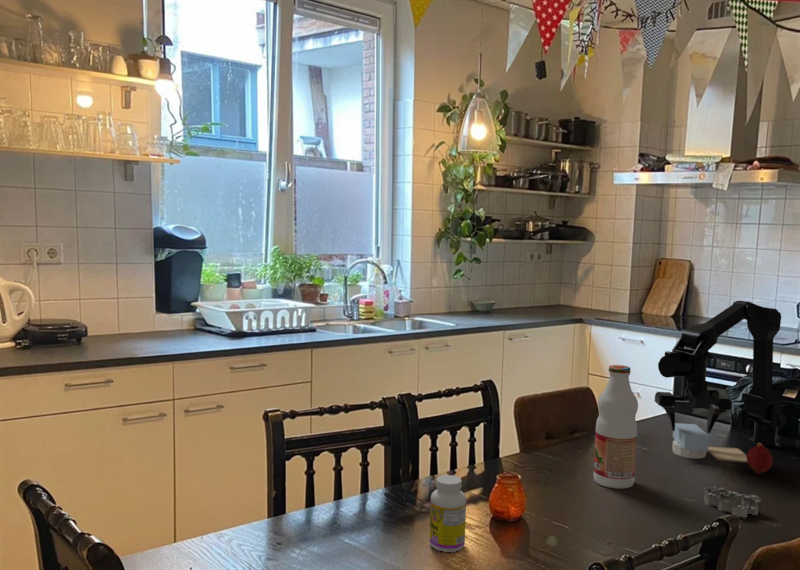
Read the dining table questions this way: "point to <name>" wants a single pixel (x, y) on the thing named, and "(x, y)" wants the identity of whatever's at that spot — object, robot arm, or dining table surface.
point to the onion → (759, 459)
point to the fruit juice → (616, 432)
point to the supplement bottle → (447, 515)
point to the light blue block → (691, 437)
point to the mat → (727, 454)
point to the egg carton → (732, 501)
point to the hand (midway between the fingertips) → (690, 431)
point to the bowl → (687, 452)
